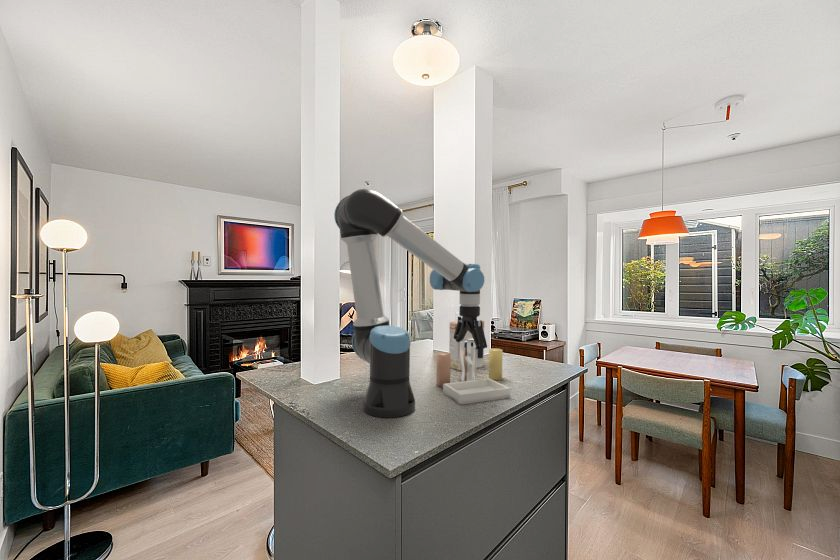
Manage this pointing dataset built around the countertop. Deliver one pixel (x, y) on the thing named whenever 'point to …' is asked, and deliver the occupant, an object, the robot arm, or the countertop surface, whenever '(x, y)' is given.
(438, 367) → the terracotta canister
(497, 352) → the mustard canister
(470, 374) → the beer glass
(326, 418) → the countertop surface
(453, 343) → the coffeecake box
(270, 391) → the countertop surface
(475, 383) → the tray
